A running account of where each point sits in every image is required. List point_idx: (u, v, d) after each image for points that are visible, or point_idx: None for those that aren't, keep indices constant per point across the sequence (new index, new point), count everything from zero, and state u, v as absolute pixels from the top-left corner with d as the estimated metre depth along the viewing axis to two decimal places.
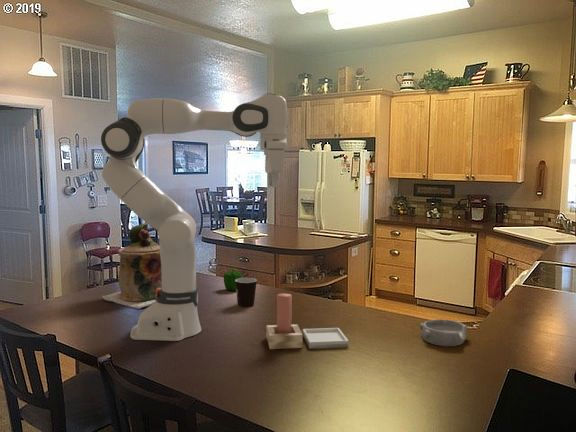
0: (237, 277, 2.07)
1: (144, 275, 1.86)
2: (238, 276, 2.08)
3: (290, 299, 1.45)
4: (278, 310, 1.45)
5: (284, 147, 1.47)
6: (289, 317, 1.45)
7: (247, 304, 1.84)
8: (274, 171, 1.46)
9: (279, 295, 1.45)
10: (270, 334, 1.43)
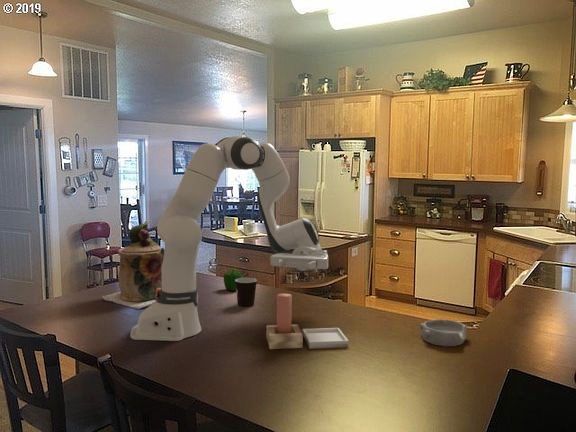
0: (237, 277, 2.07)
1: (144, 275, 1.86)
2: (238, 276, 2.08)
3: (290, 299, 1.45)
4: (278, 310, 1.45)
5: None
6: (289, 317, 1.45)
7: (247, 304, 1.84)
8: (326, 261, 1.59)
9: (279, 295, 1.45)
10: (270, 334, 1.43)
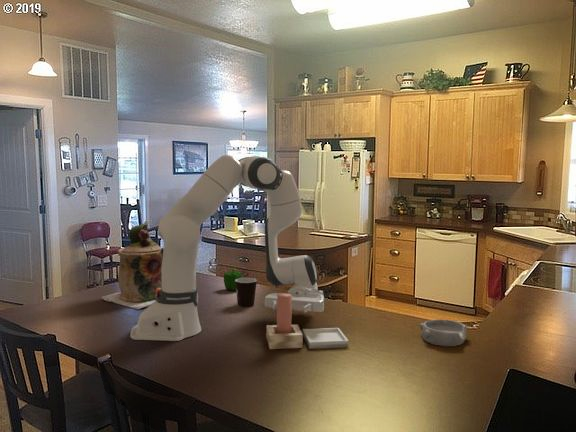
0: (237, 277, 2.07)
1: (143, 275, 1.85)
2: (238, 276, 2.08)
3: (290, 299, 1.45)
4: (278, 310, 1.45)
5: None
6: (289, 317, 1.45)
7: (247, 304, 1.84)
8: (321, 304, 1.55)
9: (279, 295, 1.45)
10: (270, 334, 1.43)
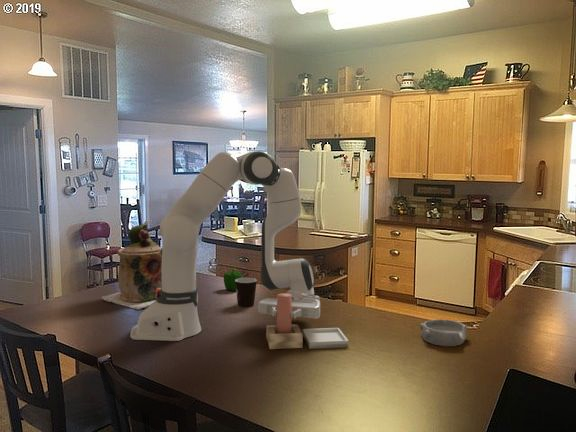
0: (237, 277, 2.07)
1: (143, 275, 1.85)
2: (238, 276, 2.08)
3: (290, 299, 1.45)
4: (278, 310, 1.45)
5: None
6: (289, 317, 1.45)
7: (247, 304, 1.84)
8: (317, 310, 1.48)
9: (279, 295, 1.45)
10: (270, 334, 1.43)
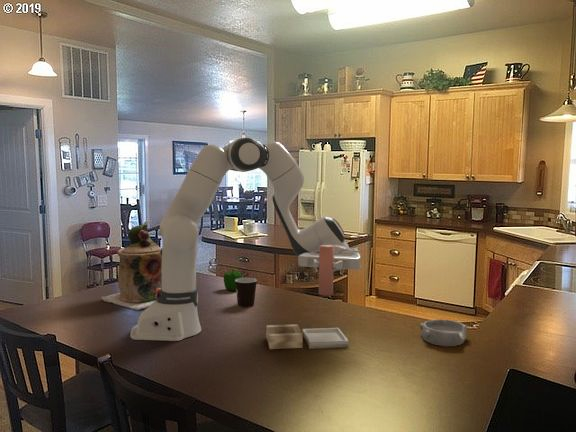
0: (237, 277, 2.07)
1: (143, 275, 1.84)
2: (238, 276, 2.08)
3: (332, 249, 1.45)
4: (320, 260, 1.45)
5: None
6: (331, 267, 1.45)
7: (247, 304, 1.84)
8: (359, 261, 1.48)
9: (321, 246, 1.46)
10: (270, 334, 1.43)
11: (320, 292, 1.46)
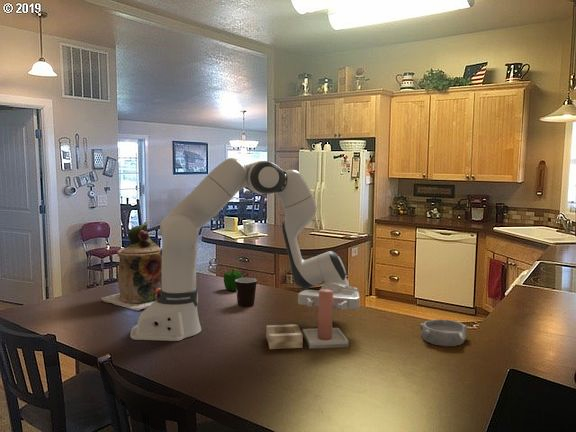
0: (237, 277, 2.07)
1: (143, 276, 1.84)
2: (238, 276, 2.08)
3: (332, 295, 1.46)
4: (319, 305, 1.47)
5: None
6: (331, 312, 1.47)
7: (247, 304, 1.84)
8: (358, 301, 1.49)
9: (321, 291, 1.47)
10: (270, 334, 1.43)
11: (319, 336, 1.47)
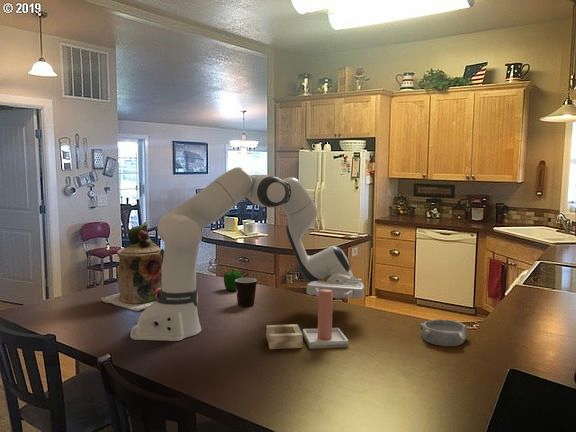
0: (237, 277, 2.07)
1: (143, 276, 1.83)
2: (238, 276, 2.08)
3: (331, 295, 1.46)
4: (319, 305, 1.47)
5: None
6: (330, 312, 1.47)
7: (247, 304, 1.84)
8: (362, 291, 1.62)
9: (320, 291, 1.47)
10: (270, 334, 1.43)
11: (319, 336, 1.47)
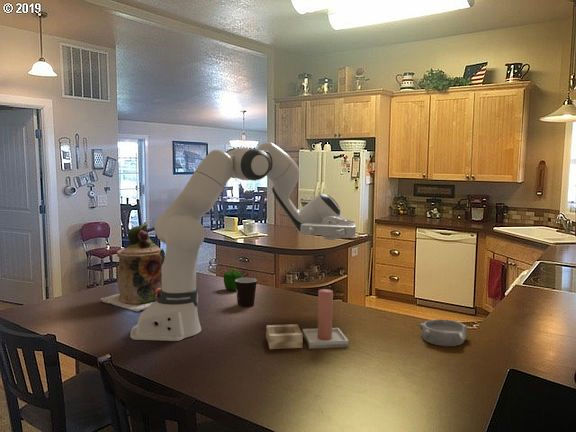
0: (237, 277, 2.07)
1: (143, 276, 1.83)
2: (238, 276, 2.08)
3: (331, 295, 1.46)
4: (319, 305, 1.47)
5: None
6: (330, 312, 1.46)
7: (247, 304, 1.84)
8: (354, 229, 1.68)
9: (320, 291, 1.47)
10: (270, 334, 1.43)
11: (319, 336, 1.47)
